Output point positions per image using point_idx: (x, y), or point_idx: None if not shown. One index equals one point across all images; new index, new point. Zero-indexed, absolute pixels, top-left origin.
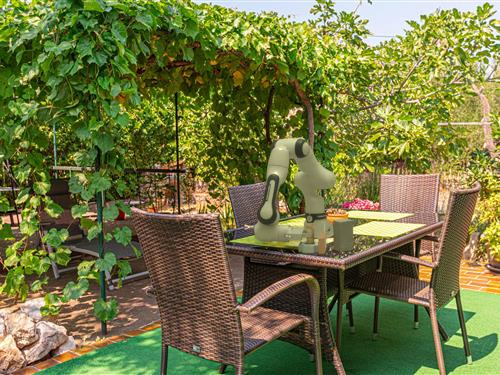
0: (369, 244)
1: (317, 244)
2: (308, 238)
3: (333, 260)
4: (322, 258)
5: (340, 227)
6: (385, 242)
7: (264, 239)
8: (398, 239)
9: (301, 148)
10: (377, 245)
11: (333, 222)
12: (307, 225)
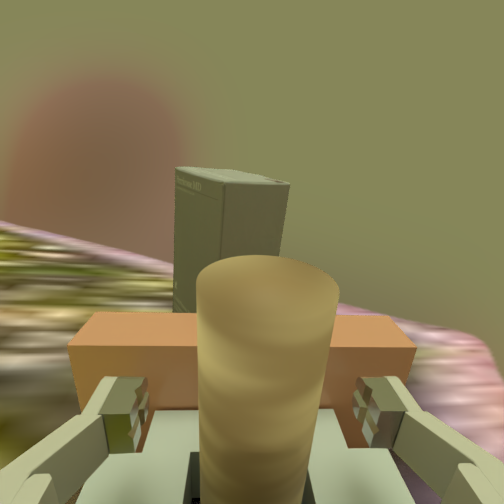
0: (101, 273)
1: None
2: (305, 479)
3: (472, 363)
4: (479, 415)
5: (283, 215)
6: (85, 250)
7: None
8: (53, 235)
9: None
10: (130, 262)
11: (227, 198)
12: (328, 331)
